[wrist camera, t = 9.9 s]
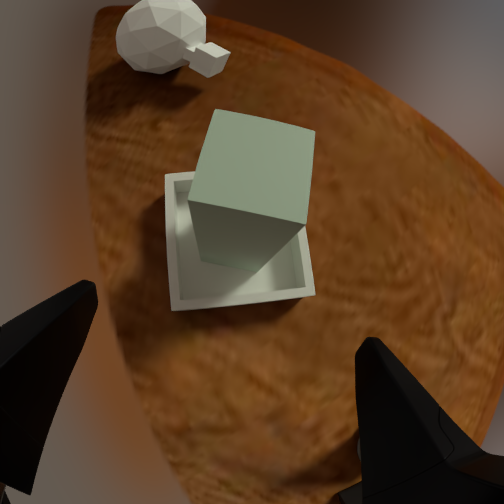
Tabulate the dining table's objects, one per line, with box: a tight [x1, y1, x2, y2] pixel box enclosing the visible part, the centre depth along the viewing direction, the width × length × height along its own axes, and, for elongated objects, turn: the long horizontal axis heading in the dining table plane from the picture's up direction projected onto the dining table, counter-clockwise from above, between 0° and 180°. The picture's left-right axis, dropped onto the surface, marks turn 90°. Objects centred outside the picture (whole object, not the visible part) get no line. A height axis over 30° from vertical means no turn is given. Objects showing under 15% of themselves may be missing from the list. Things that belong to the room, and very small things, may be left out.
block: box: [187, 109, 315, 272], centre depth 15 cm, size 4×4×11 cm
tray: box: [165, 172, 315, 311], centre depth 20 cm, size 9×9×3 cm
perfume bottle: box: [116, 0, 231, 78], centre depth 20 cm, size 9×9×12 cm
